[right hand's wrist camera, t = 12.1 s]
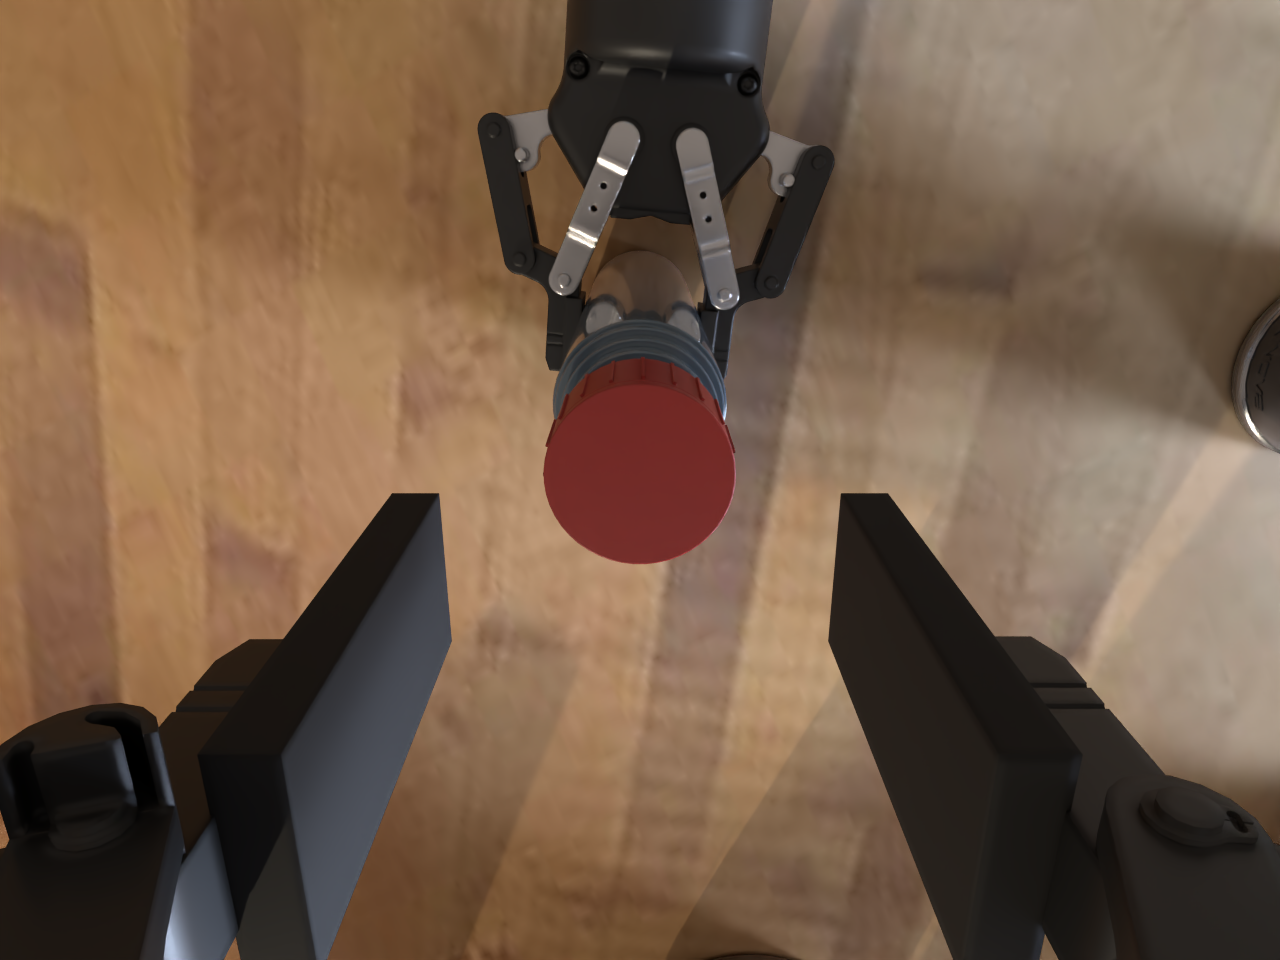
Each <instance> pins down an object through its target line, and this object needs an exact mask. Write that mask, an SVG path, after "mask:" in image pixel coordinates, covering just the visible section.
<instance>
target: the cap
mask: <svg viewBox="0 0 1280 960" xmlns="http://www.w3.org/2000/svg"><path fill="white" fill-rule="evenodd" d="M724 424H725V422H724V419H723V416H722V413H721V410H720V407H719V404H718V401H717V399H713V397H712V396H711V394H710V393H709V392H708V390H707V389H706V388H705V387H704V386H703V385H702V384H701V383H700V379H699V378H698V377H696V378H695V377H693V376H692V375H691V374H689V373H688V372H686V371H684V370H682V369H681V368H679V367H677V366H674V363H670V364H669V363H666V362H662V361H659V360H652V359H645V357H641V359H627V360H621V361H617V362H615V360H614V361H611V363H610V364H608V365H605V366H603V367H601V368H599V369H597V370H595V371H594V372H592V373H590V374H588V373H587V374H586V375H585V377H584V379H582V380H581V381H580V382H579V383H578V384H577V385H576V386H575V387H574V388H573V390H572V391H571V392H570V394H569V395H568V394H566V395H565V398H564V401H563V404H562V407H561V410H560V412H559V415H558V417H557V420H556V419H554V421H553V424H552V427H551V430H550V433H549V436H548V439H547V442H546V447H548V448H547V452H546V457H545V463H544V472H543V476H544V485H545V491H546V495H547V498H548V502H549V505H550V507H551V509H552V511H553V513H554V515H555V517H556V519H557V520H558V522H559V523H560V525H561V526H562V527H563V529H564V530H565V531H566V532H567V533H568V534H569V535H570V536H571V537H572V538H573V539H574V540H575V541H576V542H577V543H579V544H580V545H582V546H583V547H585V548H586V549H587V550H589V551H591V552H593V553H595V554H597V555H599V556H601V557H604V558H607V559H609V560H613V561H617V562H621V563H629V564H650V563H658V562H662V561H666V560H670V559H673V558H676V557H678V556H681V555H683V554H685V553H687V552H689V551H690V550H692V549H694V548H695V547H696V546H698V545H699V544H701V543H702V542H703V541H704V540H705V539H707V538H708V537H709V536H710V535H711V534H712V533H713V531H714V530H715V529H716V528H717V527H718V525H719V524H720V522H721V521H722V519H723V518H724V516H725V514H726V512H727V510H728V508H729V506H730V503H731V500H732V497H733V493H734V488H735V480H736V468H735V459H734V455H733V453H735V448H734V445H733V442H732V439H731V436H730V433H729V430H728V427H727V425H724Z"/></svg>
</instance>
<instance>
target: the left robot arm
mask: <svg viewBox="0 0 1280 960" xmlns="http://www.w3.org/2000/svg"><path fill="white" fill-rule="evenodd" d="M772 2H773V0H568V1H567V19H566V38H565V56H564V70H563V76H562V79H561V82H560V85H559V87H558V89H557V91H556V93H555V94H554V96H553V98H552V99H551V101H550V104H549V107H548V109H545V110H539V111H533V112H527V113H521V114H515V115H509V116H504V115H501V114H498V113H488V114H486V115H484V116H483V117H482V118H481V119H480V121H479V124H478V135H479V140H480V145H481V150H482V154H483V159H484V164H485V169H486V174H487V179H488V184H489V189H490V193H491V198H492V203H493V208H494V213H495V218H496V223H497V228H498V232H499V237H500V242H501V247H502V252H503V257H504V262H505V265H506V267H507V268H508V269H509V270H510V271H511V272H512V273H514V274H519V275H521V274H522V275H524V276H526V277H528V278H530V279H532V280H534V281H536V282H538V283H540V284H541V285H542V286H543V287H544V288H545V290H546V291H547V294H548V298H549V304H548V322H547V341H546V361H547V364H548V367H549V370H552V371H560V369H561V366H562V364H563V361H564V358H565V356H566V353H567V351H568V348H569V345H570V343H571V340H572V338H573V335H574V332H575V330H576V327H577V325H578V322H579V319H580V317H581V314H582V312H583V309H584V306H585V295H586V292H585V291H581V284H582V277H583V275H584V272H585V270H586V268H587V265H588V263H589V261H590V258H591V256H592V254H593V251H594V249H595V247H596V245H597V242H598V240H599V238H600V235H601V233H602V231H603V229H604V226H605V224H606V222H607V219H608V217H609V215H611V217H612V218H623V219H634V218H640V217H645V216H654V217H656V218H659V219H661V220H664V221H667V222H669V223H676V224H687V225H690V227H691V231H692V236H693V240H694V244H695V247H696V251H697V255H698V260H699V264H700V268H701V273H702V277H703V281H704V286H705V289H704V298H703V303H700V302H698V307H697V312H698V315H699V318H700V320H701V323H702V325H703V328H704V331H705V333H706V336H707V338H708V341H709V344H710V346H711V349H712V351H713V354H714V357H715V359H716V362H717V365H718V367H719V370H720V372H721V375H722V378H723V380H724V378H725V377H726V375H727V368H728V360H729V351H730V344H731V336H732V328H733V320H734V315H735V313H736V311H737V309H738V308H739V307H740V306H741V305H743V304H744V303H746V302H749V301H753V300H757V299H760V298H764V297H765V298H775V297H778V296H779V295H781V294H782V292H783V291H784V289H785V287H786V285H787V282H788V280H789V277H790V275H791V272H792V270H793V267H794V265H795V262H796V260H797V257H798V255H799V252H800V250H801V247H802V245H803V242H804V240H805V237H806V235H807V232H808V230H809V227H810V225H811V222H812V220H813V217H814V215H815V212H816V210H817V207H818V205H819V202H820V200H821V197H822V195H823V192H824V190H825V187H826V185H827V182H828V180H829V177H830V175H831V172H832V170H833V167H834V155H833V153H832V152H831V150H830V149H829V148H827V147H825V146H821V145H810V146H809V145H806V144H803V143H801V142H798V141H796V140H793V139H790V138H788V137H785V136H783V135H780V134H777V133H775V132H772V131H770V127H769V122H768V119H767V116H766V113H765V111H764V107H763V103H762V81H763V73H764V65H765V58H766V50H767V42H768V34H769V26H770V18H771V10H772ZM552 135H553V137H554V138H555V140H556V142H557V143H558V145H559V147H560V149H561V150H562V152H563V154H564V155H565V157H566V159H567V160H568V162H569V164H570V166H571V167H572V169H573V171H574V172H575V174H576V176H577V178H578V179H579V181H580V183H581V184H582V186H583V188H584V192H583V194H582V197H581V199H580V201H579V204H578V206H577V209H576V211H575V213H574V216H573V218H572V221H571V223H570V225H569V228H568V231H567V234H566V236H565V239H564V241H563V243H562V246H561V248H560V251H559V253H556V252H554V251H552V250H550V249H548V248H546V247H544V246H541V245H540V243H539V238H538V232H537V227H536V222H535V217H534V211H533V206H532V201H531V195H530V190H529V185H528V180H527V174H526V171H530V170H533V169H534V168H536V167H537V165H538V164H539V162H540V158H541V146H542V143H543V142H544V140H545V139H546V138H548V137H549V136H552ZM760 156H762V157H763V158H764V159H765V160H766V161H767V163H768V166H769V174H768V180H767V181H768V186H769V188H770V190H771V191H772V192H773V193H774V194H776V195H779V196H778V199H777V201H776V204H775V206H774V209H773V212H772V214H771V217H770V219H769V222H768V225H767V227H766V230H765V232H764V235H763V238H762V240H761V243H760V246H759V248H758V251H757V253H756V256H755V259H754V261H753V264H752V265H749V266H745V267H741V268H738V269H734V264H733V260H732V255H731V250H730V242H729V237H728V232H727V227H726V223H725V218H724V213H723V209H722V204H721V201H722V200H723V198H724V197H725V196H726V195H727V194H728V193H729V191H730V190H731V189H732V188H733V187H734V186H735V184H736V183H737V182H738V181H739V180H740V179H741V178H742V176H743V175H744V174H745V173H746V172H747V171H748V169H749V168H750V167H751V166H752V165H753V164H754V162H755V161H756V160H757V159H758V158H759V157H760ZM1232 399H1233V404H1234V408H1235V412H1236V414H1237V417H1238V419H1239V421H1240V423H1241V424H1242V426H1243V427H1244V429H1245V430H1246V431H1247V432H1248V434H1249V435H1250V436H1251V437H1252V438H1253V439H1255V440H1256V441H1257V442H1258V443H1260V444H1261V445H1263V446H1265V447H1267V448H1269V449H1271V450H1273V451H1275V452H1277V453H1279V454H1280V298H1279V299H1278V300H1277V301H1276V302H1274V303H1273V304H1272V305H1271V306H1270V307H1269V308H1268V309H1267V310H1266V311H1265V312H1264V313H1263V314H1262V315H1261V317H1260V318H1259V319H1258V320H1257V321H1256V323H1255V324H1254V325H1253V327H1252V328H1251V330H1250V331H1249V333H1248V335H1247V336H1246V338H1245V340H1244V342H1243V344H1242V346H1241V348H1240V350H1239V353H1238V355H1237V358H1236V362H1235V365H1234V370H1233V375H1232Z"/></svg>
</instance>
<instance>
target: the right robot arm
mask: <svg viewBox="0 0 1280 960" xmlns="http://www.w3.org/2000/svg"><path fill="white" fill-rule="evenodd" d="M451 642H452V639H451V627H450V615H449V604H448V592H447V580H446V569H445V557H444V545H443V534H442V522H441V510H440V499H439V493H392V494H391V496H390V497H389V498H388V500H387V501H386V502H385V504H384V505H383V506H382V508H381V509H380V510H379V512H378V513H377V514H376V516H375V517H374V518H373V520H372V521H371V522H370V524H369V525H368V526H367V528H366V529H365V530H364V532H363V533H362V534H361V536H360V537H359V538H358V540H357V541H356V542H355V544H354V545H353V546H352V548H351V549H350V550H349V552H348V553H347V555H346V556H345V557H344V559H343V560H342V561H341V563H340V564H339V565H338V567H337V568H336V569H335V571H334V572H333V573H332V575H331V576H330V577H329V579H328V580H327V581H326V583H325V584H324V585H323V587H322V588H321V589H320V591H319V592H318V593H317V595H316V596H315V597H314V599H313V600H312V601H311V603H310V604H309V605H308V607H307V608H306V609H305V611H304V612H303V613H302V615H301V616H300V617H299V619H298V620H297V621H296V623H295V624H294V626H293V627H292V628H291V630H290V631H289V632H288V634H287V635H286V636H285V638H284V639H249V640H248V641H246V642H244V643H243V644H241V645H240V646H238V647H237V648H235V649H233V650H232V651H230V652H229V653H227V654H225V655H224V656H222V657H221V658H219V659H217V660H216V661H215V662H214V663H213V664H212V665H211V667H210V668H209V669H208V670H207V671H206V672H205V674H204V675H203V676H202V677H201V678H200V679H199V681H198V682H197V683H196V684H195V685H194V691H189V692H188V694H187V695H186V696H185V697H184V698H183V699H182V701H181V702H180V703H179V704H178V705H177V707H176V712H171V714H170V715H169V716H168V717H167V718H166V719H165V721H164V722H163V723H162V724H161V725H160V727H158V723H157V719H156V717H155V716H154V715H153V714H152V713H150V712H149V711H148V710H146V709H145V708H144V707H140V706H135V705H129V704H124V703H113V704H99V705H90V706H86V707H82V708H78V709H74V710H70V711H66V712H62V713H59V714H56V715H54V716H52V717H49V718H47V719H45V720H43V721H40V722H38V723H36V724H33V725H31V726H29V727H27V728H25V729H24V730H22V731H21V732H19V733H18V734H16V735H15V736H13V737H12V738H10V739H9V740H7V741H6V742H4V743H3V744H1V746H0V811H1V814H2V817H3V821H4V824H5V827H6V830H7V833H8V837H9V842H8V844H7V846H6V848H2V849H0V960H224V958H225V956H226V954H227V952H228V950H229V948H230V946H231V944H232V943H233V941H234V939H235V937H236V940H237V945H238V949H239V954H240V959H241V960H327V958H328V955H329V953H330V950H331V947H332V945H333V942H334V940H335V937H336V935H337V932H338V930H339V927H340V924H341V922H342V919H343V917H344V914H345V912H346V909H347V907H348V904H349V902H350V899H351V896H352V894H353V891H354V889H355V886H356V884H357V881H358V879H359V876H360V874H361V871H362V868H363V866H364V863H365V861H366V858H367V856H368V853H369V851H370V848H371V846H372V843H373V840H374V838H375V835H376V833H377V830H378V828H379V825H380V823H381V820H382V817H383V815H384V812H385V810H386V807H387V805H388V802H389V800H390V797H391V795H392V792H393V789H394V787H395V784H396V782H397V779H398V777H399V774H400V772H401V769H402V767H403V764H404V761H405V759H406V756H407V754H408V751H409V749H410V746H411V744H412V741H413V739H414V736H415V733H416V731H417V728H418V726H419V723H420V721H421V718H422V716H423V713H424V710H425V708H426V705H427V703H428V700H429V698H430V695H431V693H432V690H433V688H434V685H435V682H436V680H437V677H438V675H439V672H440V670H441V667H442V665H443V662H444V660H445V657H446V654H447V652H448V649H449V647H450V644H451ZM828 642H829V644H830V647H831V649H832V652H833V654H834V657H835V660H836V662H837V665H838V667H839V670H840V672H841V675H842V677H843V680H844V682H845V685H846V688H847V690H848V693H849V695H850V698H851V700H852V703H853V705H854V708H855V710H856V713H857V716H858V718H859V721H860V723H861V726H862V728H863V731H864V733H865V736H866V739H867V741H868V744H869V746H870V749H871V751H872V754H873V756H874V759H875V761H876V764H877V767H878V769H879V772H880V774H881V777H882V779H883V782H884V784H885V787H886V789H887V792H888V795H889V797H890V800H891V802H892V805H893V807H894V810H895V812H896V815H897V817H898V820H899V823H900V825H901V828H902V830H903V833H904V835H905V838H906V840H907V843H908V846H909V848H910V851H911V853H912V856H913V858H914V861H915V863H916V866H917V868H918V871H919V874H920V876H921V879H922V881H923V884H924V886H925V889H926V891H927V894H928V896H929V899H930V902H931V904H932V907H933V909H934V912H935V914H936V917H937V919H938V922H939V924H940V927H941V930H942V932H943V935H944V937H945V940H946V942H947V945H948V947H949V950H950V953H951V955H952V958H953V960H1039V959H1040V954H1041V949H1042V945H1043V940H1044V935H1045V934H1046V936H1047V938H1048V940H1049V942H1050V944H1051V946H1052V948H1053V950H1054V951H1055V953H1056V955H1057V957H1058V959H1059V960H1280V845H1278V844H1274V843H1273V842H1272V840H1271V838H1270V837H1269V836H1268V834H1267V833H1266V832H1265V830H1264V829H1263V828H1262V826H1261V825H1260V824H1259V822H1258V821H1257V819H1256V818H1255V817H1253V816H1252V815H1251V814H1249V813H1248V812H1247V811H1245V810H1244V809H1243V808H1242V807H1240V806H1239V805H1238V804H1236V803H1235V802H1234V801H1232V800H1231V799H1229V798H1227V797H1225V796H1223V795H1221V794H1219V793H1217V792H1215V791H1213V790H1211V789H1209V788H1207V787H1205V786H1203V785H1200V784H1197V783H1193V782H1190V781H1187V780H1183V779H1180V778H1176V777H1173V776H1167V775H1165V774H1164V773H1163V772H1162V770H1161V769H1160V768H1159V767H1158V766H1157V765H1156V763H1155V762H1154V761H1153V760H1152V759H1151V758H1150V756H1149V755H1148V754H1147V753H1146V752H1145V751H1144V749H1143V748H1142V747H1141V746H1140V745H1139V744H1138V742H1137V741H1136V740H1135V739H1134V738H1133V737H1132V735H1131V734H1130V733H1129V732H1128V731H1127V730H1126V728H1125V727H1124V726H1123V725H1122V724H1121V723H1120V721H1119V720H1118V719H1117V718H1116V717H1115V716H1114V714H1113V713H1112V712H1111V711H1110V710H1109V709H1105V707H1104V703H1103V701H1102V700H1101V699H1100V698H1099V697H1098V696H1097V694H1096V693H1095V692H1094V691H1093V690H1092V689H1091V688H1087V685H1086V684H1087V683H1086V682H1085V680H1084V679H1083V678H1082V677H1081V676H1080V675H1079V673H1078V672H1077V671H1076V670H1075V669H1074V668H1073V666H1072V665H1071V664H1070V663H1069V662H1068V661H1067V659H1066V658H1065V657H1063V656H1061V655H1060V654H1058V653H1057V652H1055V651H1053V650H1052V649H1050V648H1049V647H1047V646H1045V645H1044V644H1042V643H1041V642H1039V641H1037V640H1036V639H1034V638H1033V637H995V636H994V635H993V634H992V632H991V631H990V630H989V628H988V627H987V626H986V624H985V623H984V621H983V620H982V619H981V617H980V616H979V615H978V613H977V612H976V611H975V609H974V608H973V607H972V605H971V604H970V603H969V601H968V600H967V599H966V597H965V596H964V595H963V593H962V592H961V591H960V589H959V588H958V587H957V585H956V584H955V583H954V581H953V580H952V579H951V577H950V576H949V575H948V573H947V572H946V571H945V569H944V568H943V567H942V565H941V564H940V563H939V561H938V560H937V559H936V557H935V556H934V555H933V553H932V552H931V551H930V549H929V548H928V546H927V545H926V544H925V542H924V541H923V540H922V538H921V537H920V536H919V534H918V533H917V532H916V530H915V529H914V528H913V526H912V525H911V524H910V522H909V521H908V520H907V518H906V517H905V516H904V514H903V513H902V512H901V510H900V509H899V508H898V506H897V505H896V504H895V502H894V501H893V500H892V498H891V497H890V496H889V494H888V493H841V499H840V510H839V522H838V534H837V545H836V557H835V569H834V580H833V592H832V604H831V615H830V627H829V639H828ZM713 960H788V959H784V958H779V957H773V956H765V955H737V956H729V957H722V958H718V959H713Z"/></svg>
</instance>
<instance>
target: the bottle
mask: <svg viewBox="0 0 1280 960" xmlns="http://www.w3.org/2000/svg"><path fill="white" fill-rule="evenodd" d="M641 357H645V359H652V360H659V361H662V362H666V363H669V364H670V363H674V366H677V367H679V368H681V369H682V370H684V371H686V372H688V373H689V374H691V375H692V376H693V377H695V378H696V377H698V378H699V379H700V383H701V384H702V385H703V386H704V387H705V388H706V389H707V390H708V392H709V393H710V394H711V396H712V397H713V399H717V401H718V404H719V407H720V410H721V413H722V416H723V419H724V422H725V417H726V407H727V399H726V389H725V385H724V381H723V378H722V375H721V372H720V370H719V367H718V365H717V362H716V359H715V357H714V354H713V351H712V349H711V346H710V344H709V341H708V338H707V336H706V333H705V331H704V328H703V325H702V323H701V320H700V318H699V315H698V312H697V310H696V307H695V304H694V302H693V299H692V297H691V294H690V291H689V289H688V286H687V284H686V281H685V279H684V277H683V275H682V273H681V272H680V270H679V269H678V268H677V267H676V266H675V265H674V264H673V263H672V262H671V261H670V260H668V259H667V258H665V257H664V256H662V255H659V254H657V253H654V252H650V251H642V250H637V251H630V252H626V253H623V254H620V255H618V256H616V257H615V258H613V259H611V260H610V261H609V262H608V263H606V265H605V266H604V267H603V268H602V269H601V270H600V272H599V273H598V275H597V276H596V278H595V281H594V283H593V286H592V288H591V291H590V293H589V296H588V299H587V301H586V304H585V306H584V309H583V312H582V314H581V317H580V319H579V322H578V325H577V327H576V330H575V332H574V335H573V338H572V340H571V343H570V345H569V348H568V351H567V353H566V356H565V358H564V361H563V364H562V366H561V369H560V371H559V374H558V377H557V379H556V384H555V388H554V395H553V413H554V419H556V420H557V417H558V415H559V412H560V410H561V407H562V404H563V401H564V398H565V395H566V394H568V395H569V394H570V392H571V391H572V390H573V388H574V387H575V386H576V385H577V384H578V383H579V382H580V381H581V380H582V379H584V377H585V375H586V374H587V373H588V374H590V373H592V372H594V371H595V370H597V369H599V368H601V367H603V366H605V365H608V364H610V363H611V361H614V360H615V362H617V361H621V360H627V359H641Z"/></svg>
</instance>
